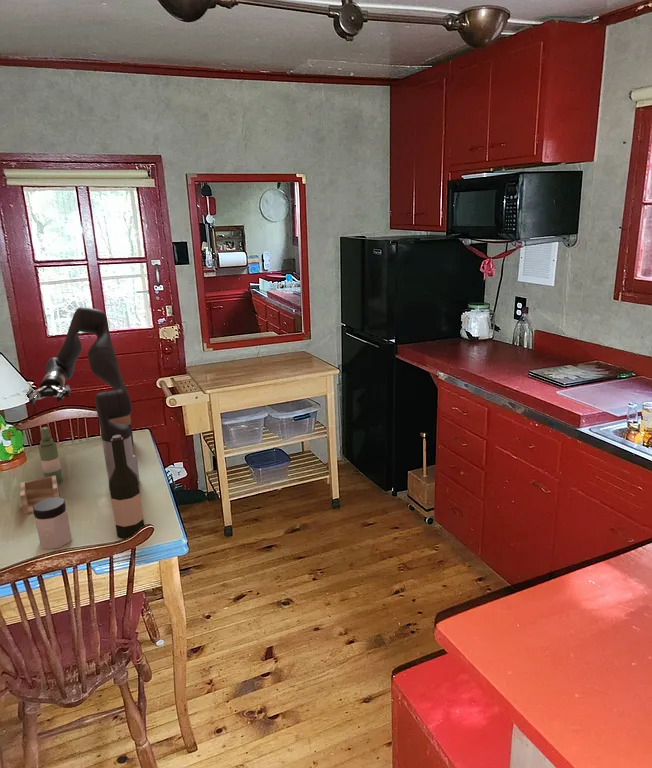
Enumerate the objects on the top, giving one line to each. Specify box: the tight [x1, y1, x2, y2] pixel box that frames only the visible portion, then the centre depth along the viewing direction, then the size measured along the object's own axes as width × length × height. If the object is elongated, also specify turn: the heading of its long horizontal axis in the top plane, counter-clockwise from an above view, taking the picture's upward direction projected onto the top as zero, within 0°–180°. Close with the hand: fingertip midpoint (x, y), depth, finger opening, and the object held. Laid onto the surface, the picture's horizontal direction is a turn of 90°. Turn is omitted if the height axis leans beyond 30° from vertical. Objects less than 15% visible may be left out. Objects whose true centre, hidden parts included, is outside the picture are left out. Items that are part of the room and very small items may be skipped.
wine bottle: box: [108, 435, 145, 540], centre depth 162 cm, size 8×8×30 cm
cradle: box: [19, 475, 60, 516], centre depth 183 cm, size 10×10×7 cm
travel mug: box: [109, 413, 134, 444], centre depth 227 cm, size 8×8×20 cm
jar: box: [33, 496, 73, 550], centre depth 161 cm, size 9×8×12 cm
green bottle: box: [37, 426, 64, 485], centre depth 196 cm, size 6×6×20 cm
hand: (45, 400), depth 200 cm, fingers open, 8 cm apart
